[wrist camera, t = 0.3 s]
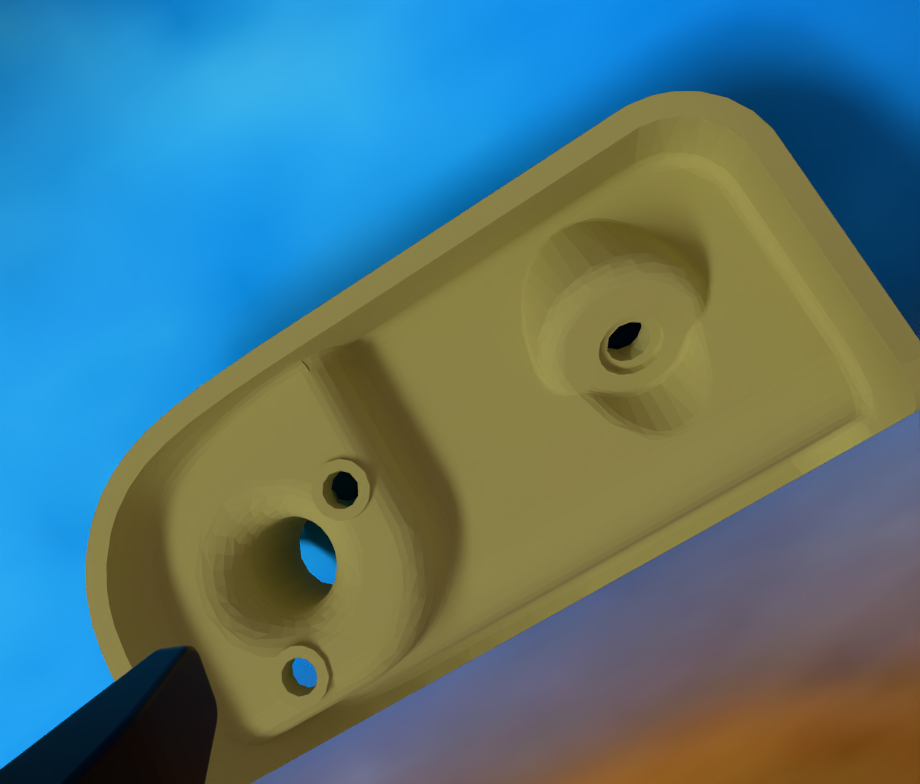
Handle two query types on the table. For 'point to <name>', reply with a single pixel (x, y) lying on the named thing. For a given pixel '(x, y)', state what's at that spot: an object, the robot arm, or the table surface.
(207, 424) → the plastic component
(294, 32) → the table surface
